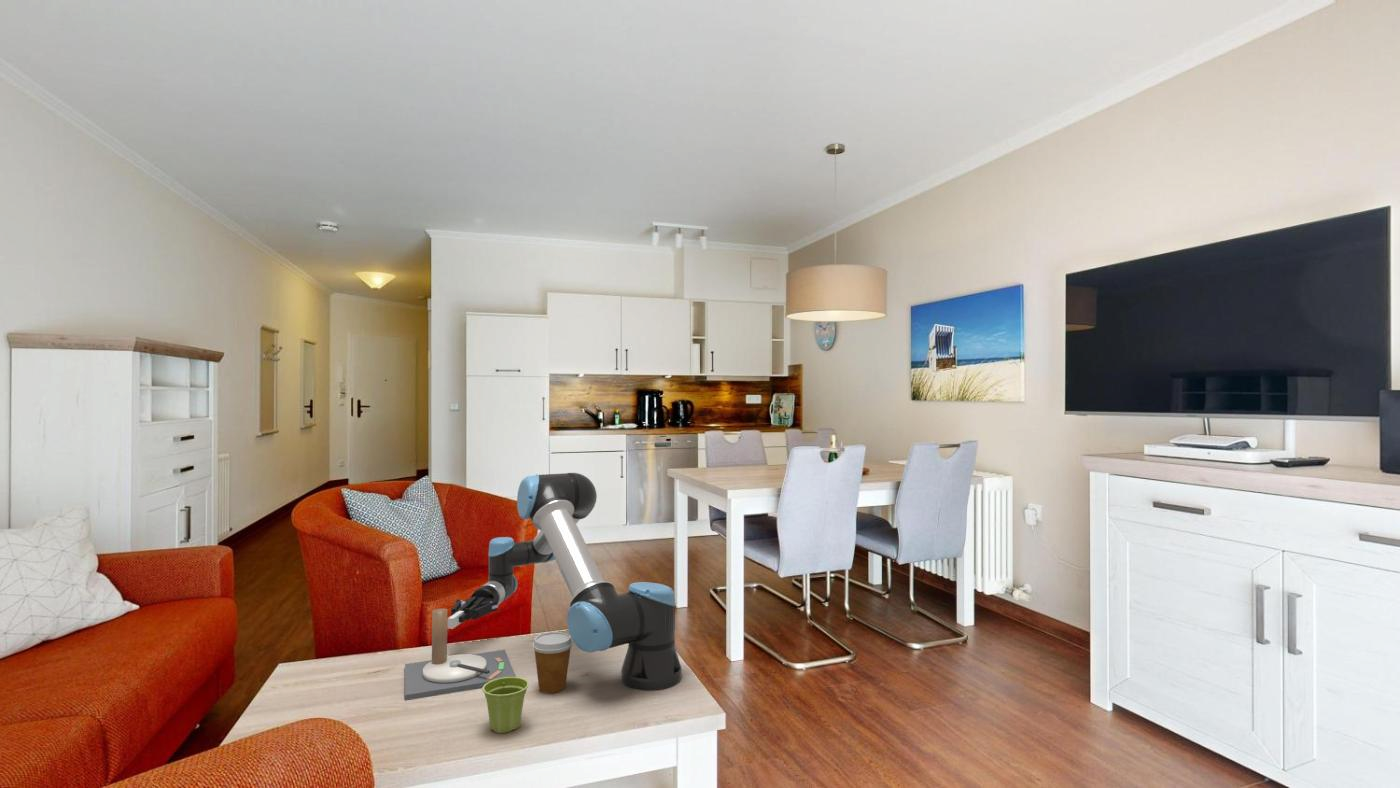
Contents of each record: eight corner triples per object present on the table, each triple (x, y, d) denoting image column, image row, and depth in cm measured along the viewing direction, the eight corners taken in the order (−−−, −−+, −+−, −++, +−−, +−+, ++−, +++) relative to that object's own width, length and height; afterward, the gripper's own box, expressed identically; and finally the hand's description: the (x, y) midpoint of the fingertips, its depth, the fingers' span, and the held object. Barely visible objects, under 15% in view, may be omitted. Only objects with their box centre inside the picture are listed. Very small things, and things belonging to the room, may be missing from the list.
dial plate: (516, 682, 161) (516, 675, 161) (405, 700, 151) (405, 693, 151) (504, 653, 180) (504, 648, 180) (405, 668, 169) (405, 662, 169)
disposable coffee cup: (577, 680, 162) (577, 632, 163) (565, 697, 153) (565, 645, 153) (539, 678, 163) (540, 630, 163) (526, 695, 154) (526, 644, 154)
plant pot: (488, 716, 143) (488, 676, 143) (531, 715, 144) (532, 675, 144) (477, 738, 134) (477, 695, 134) (523, 736, 135) (524, 694, 135)
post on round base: (490, 678, 160) (490, 620, 160) (423, 689, 154) (424, 628, 154) (482, 655, 175) (483, 601, 175) (422, 664, 169) (422, 608, 169)
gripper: (508, 610, 197) (473, 638, 173) (466, 609, 198) (426, 636, 174) (508, 585, 197) (473, 610, 173) (467, 584, 198) (427, 608, 174)
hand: (450, 623), depth 174 cm, fingers closed
